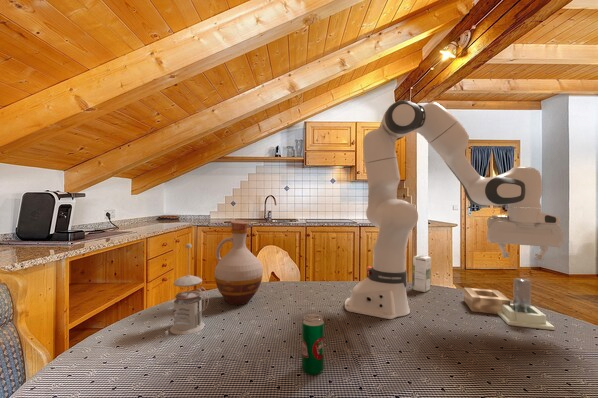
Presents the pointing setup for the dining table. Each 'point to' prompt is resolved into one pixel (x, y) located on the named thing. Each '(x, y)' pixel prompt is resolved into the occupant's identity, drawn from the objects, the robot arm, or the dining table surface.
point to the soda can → (312, 344)
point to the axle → (522, 295)
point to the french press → (188, 305)
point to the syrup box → (421, 273)
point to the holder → (524, 318)
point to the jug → (238, 268)
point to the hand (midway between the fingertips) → (522, 258)
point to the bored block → (485, 300)
